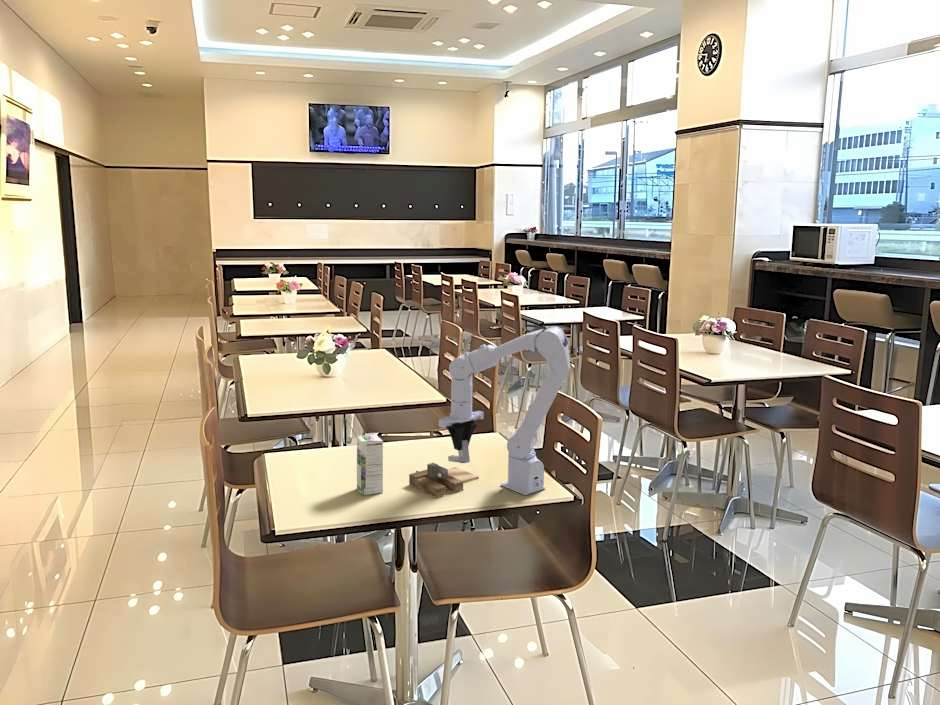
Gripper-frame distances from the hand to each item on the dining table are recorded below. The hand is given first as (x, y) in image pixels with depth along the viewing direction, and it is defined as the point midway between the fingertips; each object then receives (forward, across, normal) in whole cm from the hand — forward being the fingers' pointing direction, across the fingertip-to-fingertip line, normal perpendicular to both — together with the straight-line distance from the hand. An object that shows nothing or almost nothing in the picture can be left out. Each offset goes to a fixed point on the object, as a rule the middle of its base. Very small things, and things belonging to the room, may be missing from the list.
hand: (461, 448), depth 210 cm
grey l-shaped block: (+4, 0, -1) cm, 4 cm away
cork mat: (+9, -1, -3) cm, 9 cm away
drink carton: (+9, +24, -9) cm, 27 cm away
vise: (+9, +9, -1) cm, 13 cm away
